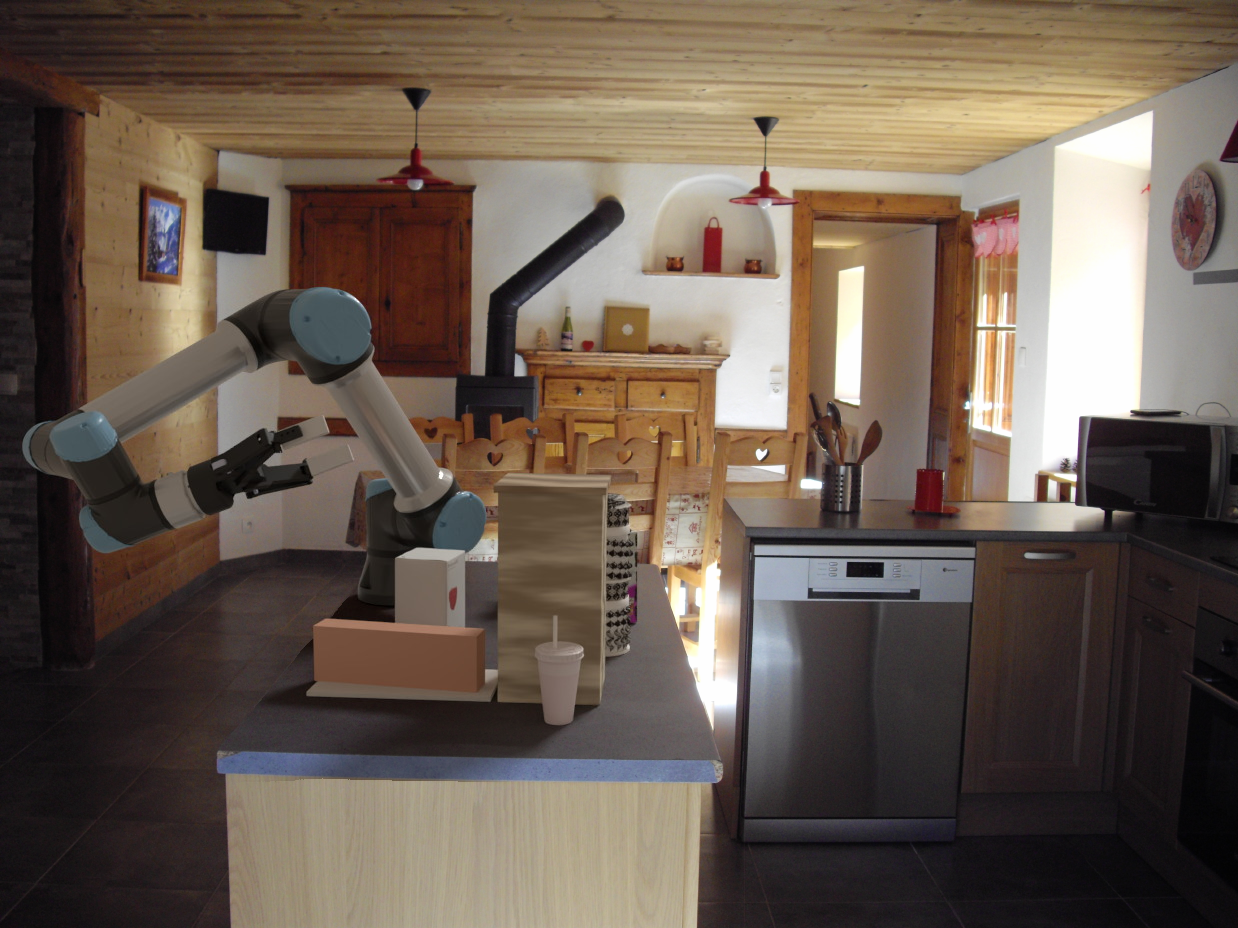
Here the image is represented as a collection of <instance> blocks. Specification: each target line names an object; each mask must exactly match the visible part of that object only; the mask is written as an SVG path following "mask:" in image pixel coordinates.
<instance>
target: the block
mask: <svg viewBox="0 0 1238 928" xmlns="http://www.w3.org/2000/svg"><path fill="white" fill-rule="evenodd" d="M312 628H313V631H312V632H313V673H314V674H313V675H314V676H313V680H314V681H315V682H317V681H326V682H339V683H352V684H366V685H379V686H392V687H406V688H419V689H432V690H446V691H459V692H472V693H477V692H478V691H479V690H480V689H481V688H482V686H483V685H484V684H485V669H486V628H479V627H466V626H465V627H449V626H434V625H418V624H403V623H395V622H387V621H386V622H384V621H371V620H370V621H368V620H357V619H356V620H355V619H341V618H339V619H337V618H324V619H322V620H321V621H318V623H315V624H314V625H313V626H312Z"/></svg>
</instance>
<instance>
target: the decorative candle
mask: <svg viewBox="0 0 1238 928" xmlns="http://www.w3.org/2000/svg"><path fill="white" fill-rule="evenodd" d="M630 507H632V504H631V503H628V501H627V499H626V497H625V496H624V495H623V494H620V493H613V492H612V493H610V492H608V494H607V563H606V632H605V658H607V657H618V656H623V655H625V654H627V653H628V652H630V650H631V648H630V643H631V636H630V634H631V633H632V632H631V630H632V628H631V627H630V625H629V624H627V623H628V622H630V621H631V617H630V616H629V615H628V613H630V612H631V607H630V606H629V595H628V580H630V579H631V577H632V574H631V573H630V572H629V571H628V572H627V569H628V570H629V569H630V568H632V563H630V562H629V561H628V556H629V557H630V556H632V555H633V551H631V550H630V549H629V550H628V547H631V546H633V545H634V542H633V541H631V540H630V539H629V541H628V534H629V533H630V532H631V530H632V529H631V523H630Z"/></svg>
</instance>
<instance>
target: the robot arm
mask: <svg viewBox="0 0 1238 928" xmlns="http://www.w3.org/2000/svg"><path fill="white" fill-rule="evenodd" d="M371 330H372V323H371V319H370V315H369V313H368V312H367V309H366V308H365V306H364V305H363V304H362V303H361V302H360V300H359V299H357V298H356V297H355V296H354V295H352V294H350V293H349V292H347V291H344V290H342V289H337V288H332V287H326V286H321V287H320V286H317V287H311V288H307V289H306V288H302V289H301V288H299V289H297V288H296V289H295V288H294V289H293V288H292V289H291V288H289V289H288V288H287V289H278V290H275V291H272V292H270V293H268V294H266V295H263V296H261V297H260V298H258V299H256V300H254V301H252V302H251V303H249V304H247V305H246V306H244V307H242V308H240V309H238V310H236V311H235V312H234V313H232V314H230V315H228V316H227V317H225V318H223V319H222V320H219V321H218V322H217V323H216V327H215V331H214V332H212V333H210V334H208V335H206V336H204V337H203V338H201V339H199V340H198V341H195V342H194V343H192V344H191V345H189V346H187V347H186V348H185V347H184V348H183V349H182V350H180V351H178V352H176V353H174V354H172V355H171V356H169V357H168V358H166V359H163V360H162V361H159V363H156V364H155V365H153V366H152V367H150V368H148V369H146V370H145V371H142V372H141V373H139V374H137V375H136V376H134V377H132V378H130V379H128V380H127V381H125V382H123V383H122V384H120V385H118V386H116V387H114V388H113V389H111V390H109V391H106V392H105V393H104V394H101V395H100V396H98V397H96V398H94V399H93V400H91V401H89V402H88V403H86V404H84V405H82V406H81V407H78V408H77V409H75V410H73V411H72V412H69V413H67V414H66V415H64V416H62V417H60V418H59V419H57V420H48V421H43V422H40V423H37V424H35V425H34V426H32V427H31V428H30V429H28V431H27V432H26V434H25V436H24V437H23V440H22V446H21V447H22V453H23V456H24V458H25V460H26V462H28V463H29V464H30V466H32V467H33V468H34V469H37V471H40V472H42V473H44V474H45V475H46V474H47V475H51V476H58V477H63V478H66V479H69V480H73V481H74V483H75V484H76V486H77V488H78V490H80V492H81V494H82V495H83V496H84V499H85V500H86V503H87V505H85V506H83V507H81V509H80V512H79V516H78V519H79V525H80V529H82V531H83V536H84V538H85V539H86V542H87V543H88V544H89V545H90V546H91V548H93V550H94V551H95V550H96V551H97V552H99V553H101V554H110V553H113V552H116V551H119V550H123V549H127V548H132V547H134V546H137V545H138V544H141V543H142V542H145V541H148V540H150V539H152V538H153V539H154V538H155V537H158V536H161V535H162V534H166V533H167V532H171V531H174V530H176V529H180V528H183V527H185V526H189V525H191V524H193V523H196V522H199V521H202V520H203V519H204V518H206V515H207V516H213V515H216V514H219V513H221V512H223V511H227V510H228V509H231V508H233V506H234V502H235V495H237V494H242V493H245V497H246V499H247V500H251V499H254V498H256V497H260V496H263V495H267V494H271V493H272V494H273V493H276V492H283V491H286V490H290V489H295V488H296V489H297V488H299V487H305V486H310V485H312V484H313V483H314V480H313V479H314V478H315V477H316V476H319V475H321V474H324V473H327V472H329V471H332V470H335V469H337V468H340V467H343V466H345V465H347V464H350V463H354V462H355V459H354V455H353V453H352V450H351V447H350V445H349V444H348V443H346V444H343V445H340V446H338V447H335V448H333V449H330V450H327V451H325V452H322V453H320V454H317V455H314V456H312V457H309V458H306V457H305V458H304V459H303V460H302V461H301V462H299V463H291V464H282V465H280V464H279V465H267V464H266V462H267V461H268V460H269V459H270V458H271V457H273V455H274V454H283V450H284V451H287V450H290V449H291V448H294V447H298V446H300V445H302V444H305V443H307V442H311V441H313V440H315V439H319V438H321V437H324V436H326V435H328V434H329V435H330V429H329V427H328V424H327V421H326V418H325V415H324V414H320V415H317V416H314V417H312V418H309V419H306V420H303V421H302V422H301V421H300V422H298V423H296V424H292V425H290V426H288V427H285V428H282V429H280V430H270V431H268V428H267V427H263V428H260V429H258V430H257V431H255V432H253V433H252V434H250V435H249V436H247V437H246V438H244V439H242V441H240V442H238V443H237V444H235V445H234V446H232V447H231V448H229V449H227V450H225V451H224V452H223V453H221V454H218V455H215V456H213V457H211V458H210V459H206V460H204V461H202V462H199V463H196V464H193V465H191V466H188V469H187V470H185V469H181V470H178V471H176V472H173V471H172V472H171V471H168V472H167V473H166V475H165V476H162V477H160V478H158V479H156V478H155V479H154V480H152V481H151V480H150V481H148V482H145V483H144V481H143V480H142V478H141V476H140V475H139V473H138V471H137V469H136V468H135V465H134V464H133V462H132V460H131V459H130V457H129V455H128V453H127V451H126V450H125V448H124V446H123V443H124V442H126V441H129V440H130V439H132V438H133V437H135V436H137V435H139V434H140V433H142V432H144V431H145V430H147V429H148V428H150V427H152V426H153V425H156V424H157V423H158V422H160V421H161V420H163V419H165V418H167V417H168V416H170V415H172V414H174V413H175V412H177V411H178V410H180V409H181V408H184V407H185V406H187V405H189V404H190V403H192V402H194V401H196V400H197V399H199V398H201V397H203V396H204V395H205V394H207V393H209V392H211V391H212V390H213V389H215V388H217V387H219V386H220V385H222V384H225V382H228V381H229V380H231V379H233V378H234V377H235V376H237V375H239V374H241V373H242V372H244V373H247V374H253V373H255V372H256V371H258V370H260V369H262V368H263V367H266V366H268V365H271V364H274V363H279V362H285V361H289V362H290V361H291V362H292V361H293V362H297V363H298V365H299V367H300V369H302V371H303V372H304V374H305V375H306V377H307V379H308V380H309V381H310V383H311V384H312V385H313V386H316V387H322V388H325V389H326V390H327V391H328V393H329V395H330V397H332V399H333V401H334V402H335V404H336V405H337V406H338V408H339V409H340V411H341V412H342V414H343V416H344V417H345V419H346V420H347V422H348V423H349V424H350V426H351V428H352V429H353V431H354V432H355V434H356V435H357V436H358V438H359V440H360V441H361V443H362V444H363V445H364V447H365V448H366V451H367V452H368V453H369V455H370V456H371V458H372V459H373V461H374V462H375V464H376V465H377V466H378V468H379V470H380V472H382V474H383V476H384V478H376V479H372V480H370V481H369V482H368V483H367V485H366V489H365V491H366V492H365V499H364V502H365V516H366V517H365V522H366V529H365V530H366V559H365V563H364V565H363V569H362V573H361V575H360V578H359V582H358V585H357V599H358V601H361V602H363V603H367V604H371V605H375V606H376V605H378V606H395V558H396V557H398V556H401V555H403V554H404V553H406V552H409V551H411V550H413V549H415V548H432V549H447V550H464V551H465V555H466V554H468V553H469V552H471V551H472V550H473V549H474V548H475V547H476V546H477V545H478V544H479V543H480V541H481V539H482V537H483V535H484V533H485V526H486V524H487V511H486V506H485V504H484V502H483V500H482V499H481V498H480V496H478V495H476V494H475V493H473V492H472V491H467V490H465V491H464V489H462V487H461V485H460V484H459V482H458V481H457V479H456V477H455V476H454V474H453V472H451V470H450V469H448V468H444V467H438V465H437V463H436V462H435V460H434V458H433V457H432V455H431V454H430V452H429V450H428V449H427V448H426V445H425V444H424V442H423V441H422V440H421V438H420V436H419V434H418V432H417V431H416V430H415V428H414V426H413V425H412V424H411V422H410V420H409V418H408V417H407V415H406V414H405V412H404V410H403V408H402V407H401V406H400V404H399V403H398V402H399V401H397V399H396V398H395V396H394V394H393V393H392V391H391V389H390V388H389V387H388V385H387V383H386V382H385V380H384V378H383V377H382V375H381V374H380V372H379V370H378V369H377V367H376V365H375V364H374V362H373V358H374V357H373V356H374V354H375V346H374V344H373V343H372V342H371V341H372V334H371Z"/></svg>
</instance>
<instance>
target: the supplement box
mask: <svg viewBox="0 0 1238 928" xmlns="http://www.w3.org/2000/svg"><path fill="white" fill-rule="evenodd" d="M394 623H403V624H418V625H434V626H449V627H465V628H466V554H465V551H464V550H447V549H432V548H415V549H413V550H411V551H409V552H406V553H404V554H403V555H401V556H398V557H396V558H395V605H394Z"/></svg>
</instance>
